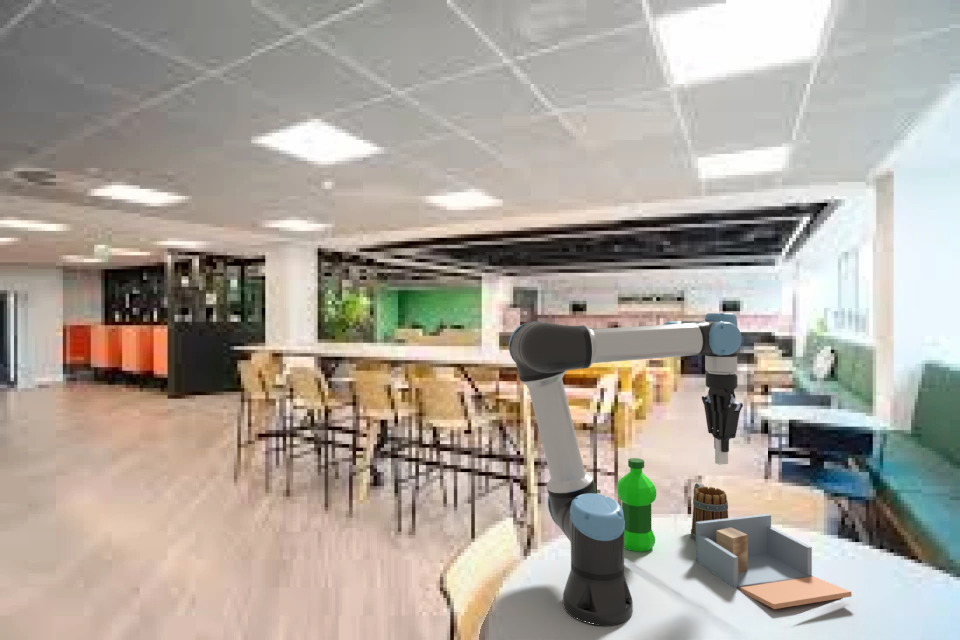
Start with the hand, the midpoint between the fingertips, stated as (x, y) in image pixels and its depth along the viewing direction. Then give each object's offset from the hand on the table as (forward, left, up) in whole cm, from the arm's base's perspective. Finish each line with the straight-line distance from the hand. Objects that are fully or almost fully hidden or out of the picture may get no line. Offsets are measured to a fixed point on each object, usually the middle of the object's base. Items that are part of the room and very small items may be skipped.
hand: (721, 463), depth 137 cm
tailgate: (+4, -14, -25) cm, 29 cm away
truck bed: (+4, -6, -26) cm, 27 cm away
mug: (+6, +14, -27) cm, 31 cm away
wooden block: (-1, -5, -25) cm, 25 cm away
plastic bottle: (-17, +13, -27) cm, 34 cm away
